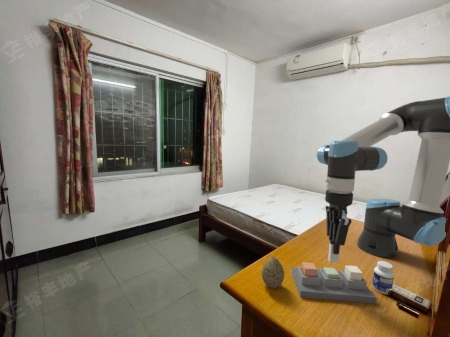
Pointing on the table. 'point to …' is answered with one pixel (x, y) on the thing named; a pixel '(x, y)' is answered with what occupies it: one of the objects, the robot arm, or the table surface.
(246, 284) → the table surface
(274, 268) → the decorative egg
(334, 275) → the sage button
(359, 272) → the cream button
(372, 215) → the robot arm
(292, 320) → the table surface
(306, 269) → the terracotta button
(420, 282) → the table surface
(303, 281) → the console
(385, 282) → the pill bottle
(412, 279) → the table surface
